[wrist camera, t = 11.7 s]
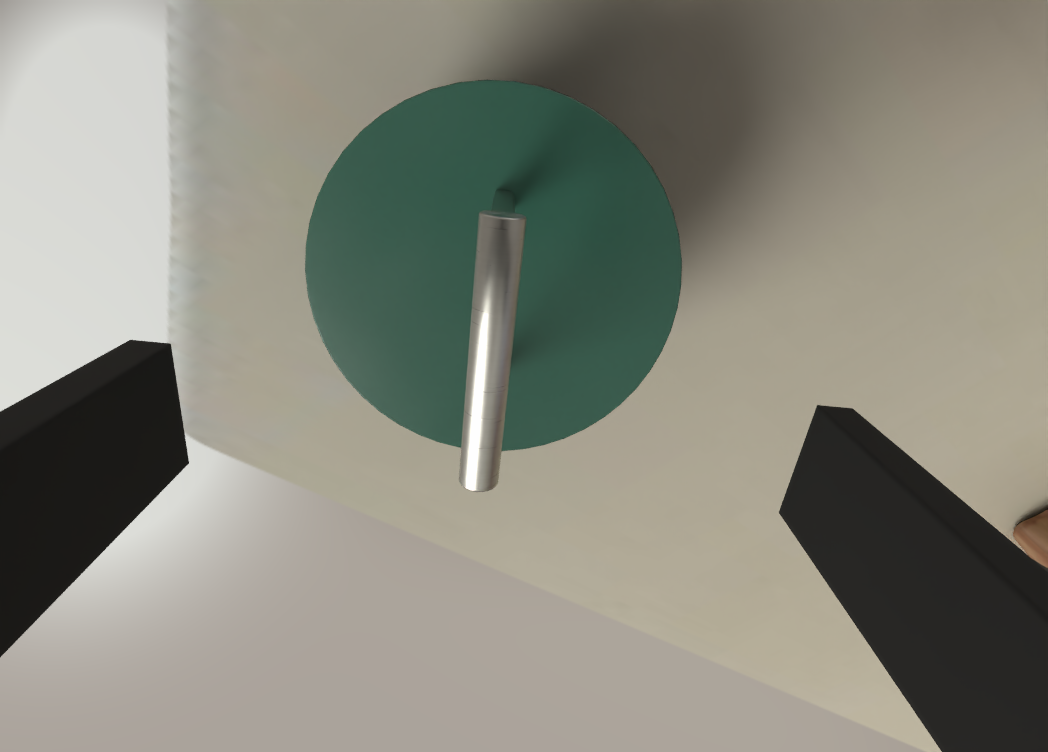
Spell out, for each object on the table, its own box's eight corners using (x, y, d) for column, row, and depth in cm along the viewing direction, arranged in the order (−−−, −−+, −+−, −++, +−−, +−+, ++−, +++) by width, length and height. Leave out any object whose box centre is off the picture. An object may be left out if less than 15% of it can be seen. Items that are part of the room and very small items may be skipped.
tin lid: (712, 108, 21) (849, 94, 13) (637, 450, 27) (695, 597, 19) (306, 57, 20) (158, 5, 12) (320, 424, 26) (229, 566, 18)
